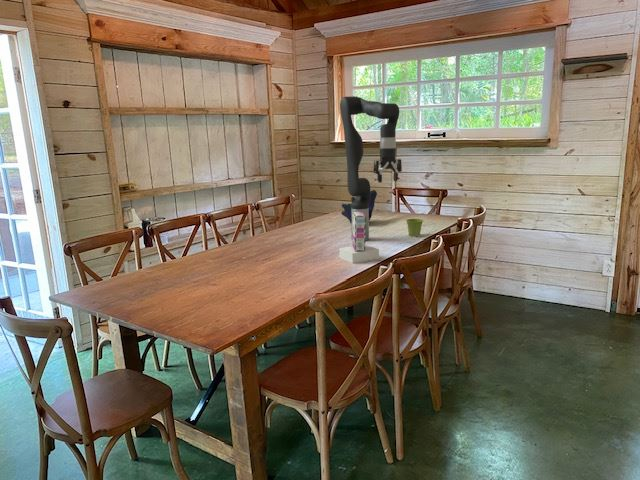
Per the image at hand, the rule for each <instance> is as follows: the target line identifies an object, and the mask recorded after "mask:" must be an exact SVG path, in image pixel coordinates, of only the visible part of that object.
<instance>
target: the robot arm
mask: <svg viewBox="0 0 640 480" xmlns="http://www.w3.org/2000/svg"><path fill="white" fill-rule="evenodd" d="M339 109H340V116H341V120H342V121H341V122H342V126H343V135H344V148H345V157H346V166H347V170H346V171H347V177H346V178H347V191H348V193H349V195H350V196H352V197H355V198H356V196H357V198H356V200H355V201H354V202H353V203H352V202H351V203H352V204H351V203H350V204H351V213H352V222H351V223H350V227H351V229H350V230H351V241H353V212H363V213H364V215H365V216H366V227H365V242H367V241H369V240H370V226H369V225H370V220H369V203H370V191H371V183H370V181H369V179H368V178H365V177H359V168H360V165H361V161H362V158H363V155H364V143H363V138H362V136H361V135H360V133H359V132H358V130H357V128H355V125H354V123H353V118H352V116H355V115H361V114H365V115H367V116H369V117H373V118H374V117H375V118H377V119H380V120H387V122H386V124H382V125H380V130H379V131H380V132H379V134H380V138H379V139H380V140H379V160H378V159H377V160H374V161H373V173H374V174H376V175H377V182H378V183H382V182H383V175H382V174H383V173H384V171H385V170H392V172H393V182H397V181H398V179H399V173H400V172H402V170H403V169H402V167H403V166H402V159H401V158H397V159H396V157H397V140H396V132H397V131H396V127H397V124H398V120H399V116H400V107H399V105H398V104H397V103H395V102H394V103H393V102H391V103H389V102H388V103H384V102H383V103H382V102H380V101H373V100H367V99H364V98H362V97H360V96H355V95H354V96H343V97H341V99H340V101H339Z"/></svg>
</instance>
